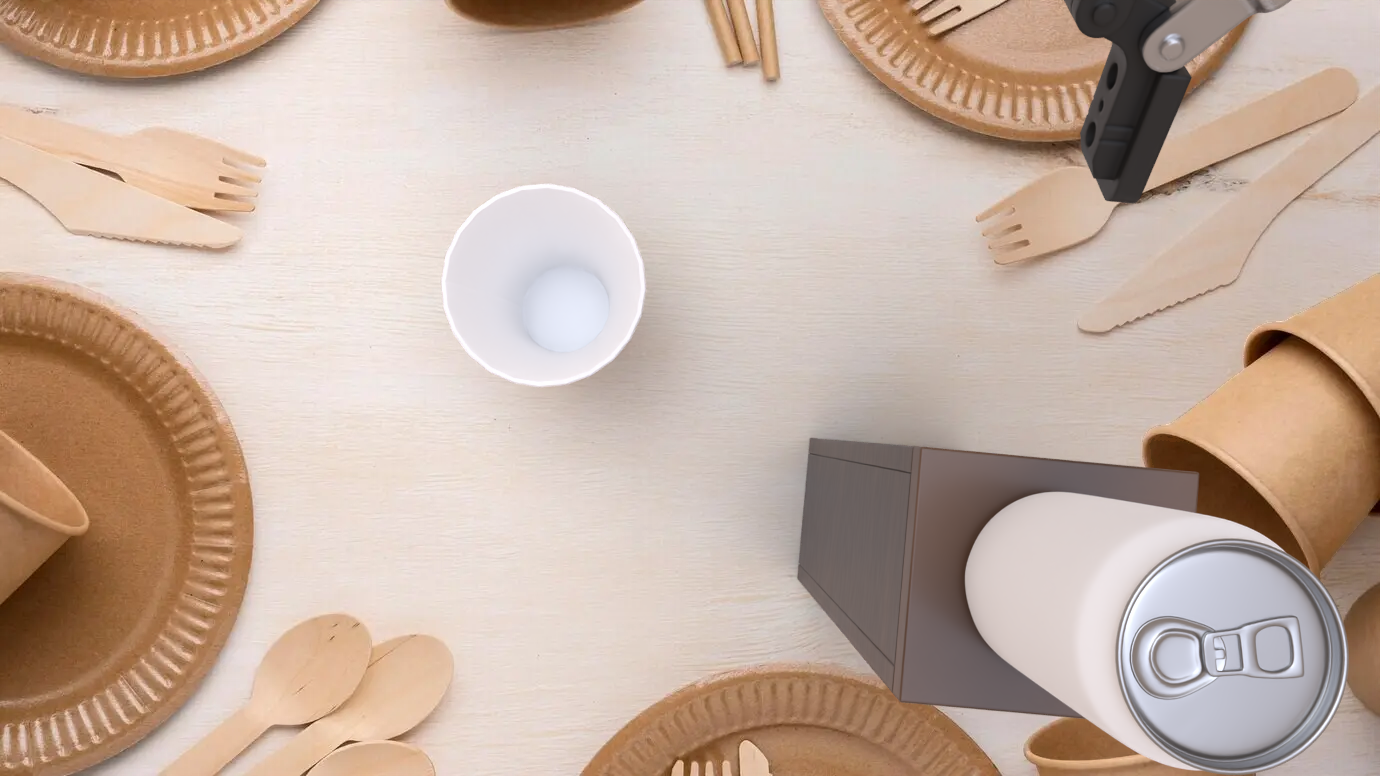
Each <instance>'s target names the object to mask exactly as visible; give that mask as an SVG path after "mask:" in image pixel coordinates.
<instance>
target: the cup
mask: <svg viewBox="0 0 1380 776" xmlns="http://www.w3.org/2000/svg"><path fill="white" fill-rule="evenodd" d="M443 261H444V262H443V266H442V272H441V277H440V288H441V289H440V291H441V299H442V300H441V301H442V309H443V312H444V314H445V317H446V320H447V322H448V325H449V328H450V330H451V333H452V336H454V338H455V339H456V341H457V342H458V343H459V344H460V346H461V347H462V349H463V350H464V352H465V354H466V355H467V356H468V357H470V358H471V359H472V360H473V361H475V362H476V363H477V364H478V365H479V366H481V367H482V368H483V369H484V370H485V371H486V372H488V373H490V374H492V375H494V376H496V377H498V378H500V379H503V380H505V381H506V382H507V381H508V382H510V383H512V384H515V385H520V386H521V385H522V386H527V387H532V388H533V387H534V388H538V389H539V388H549V387H550V388H551V387H561V386H568V385H571V384H573V383H575V382H579V381H581V380H584V379H587V378H589V377H592V376H593V375H595V374H596V373H598V372H599V371H600V370H602V369H603V368H606V366H608V365H609V364H610V363H612V362H614V360H616V358H617V357H618V356H619V355H620V354H621V352H622V351H623V349H625V347H626V346H627V345H628V344H629V342H631V340H632V338H633V336H634V334H635V331H636V329H637V327H638V325H639V323H640V321H641V319H642V316H643V312H644V306H645V301H646V294H647V280H646V279H647V278H646V270H645V261H644V259H643V256H642V254H641V251H640V248H639V246H638V242H637V240H636V237H635V235H634V234H633V233H632V231H631V230H630V229H629V228H628V226H627V225H626V223H625V222H624V220H623V219H622V217H621V216H620V215H619V214H618V213H617V212H616V211H614V210H613V209H612V208H611V207H610V206H608V205H607V204H606V203H605V202H604V201H602V200H601V199H600V198H599V197H596V196H593V195H591V194H589V193H587V192H585V191H583V190H581V189H578V188H576V187H573V186H568V185H562V184H555V183H549V182H546V183H545V182H544V183H533V184H524V185H518V186H516V187H513V188H510V189H508V190H505V191H502V192H499V193H497V194H495V195H493V196H491V197H490V198H489V199H488V200H486V201H485V202H484V203H482V204H480V205H479V206H478V207H476V208H474V209H473V211H472V212H471V213H470V214H469V215H468V216H467V218H466V219H465V220H464V221H463V222H462V224H461V225H460V226H459V227H458V228H457V230H456V231H455V233H454V235H453V238H452V240H451V242H450V243H449V246H448V248H447V251H446V252H445V255H444V260H443Z"/></svg>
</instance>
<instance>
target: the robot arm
mask: <svg viewBox="0 0 1380 776" xmlns="http://www.w3.org/2000/svg"><path fill="white" fill-rule="evenodd" d="M1063 1H1064V4H1065V5H1066V7H1067V9H1068V12H1069V13H1070V15H1071V17H1072V18H1073V20H1074V23H1075V24H1076V26H1077V28H1078V30H1079V31H1080V33H1082V34H1083V35H1084V36H1086V37H1088V38H1092V39H1105V40H1107V41H1109V42H1111V46H1110V50H1109V52H1108V54H1107V58H1106V61H1105V64H1104V66H1103V69H1102V71H1101V75H1100V77H1099V79H1098V83H1097V84H1096V85H1097V86H1096V88H1095V91H1094V93H1093V99H1092V100H1091V102H1090V105H1089V107H1088V110H1087V114H1086V115H1085V118H1084V121H1083V124H1082V127H1081V130H1080V132H1079V136H1080V150H1081V153H1082V156H1083V157H1084V160H1085V162H1086V163H1087V167H1088V170H1089V171H1090V174H1091V176H1092V178H1093V180H1094V179H1095V181H1096V183H1097V185H1098V187H1099V190H1100V192H1101V194H1102V197H1103V199H1104V201H1106V202H1112V203H1124V204H1132V205H1133V204H1136V203H1138V201H1140V199H1141V197H1142V196H1143V193H1144V191H1145V188H1146V187H1147V185H1148V181H1149V179H1150V177H1151V174H1152V172H1153V169H1154V167H1155V165H1156V162H1157V161H1158V158H1159V156H1160V154H1161V151H1162V149H1163V146H1164V144H1165V142H1166V139H1167V137H1168V134H1169V132H1170V130H1171V128H1172V125H1173V123H1174V121H1175V118H1176V116H1177V113H1178V111H1179V108H1180V107H1181V103H1182V101H1183V99H1184V97H1185V95H1186V93H1187V90H1188V88H1189V86H1190V83H1191V81H1192V78H1193V76H1192V75H1191V74H1190V72H1189V70H1188V69H1187V68H1186V66H1187V65H1188V64H1189V63H1190V62H1191V61H1193V60H1194V59H1196V58H1197V57H1198V56H1200V55H1201V54H1202V53H1204V52H1205V51H1206V50H1207V49H1208V48H1210V47H1212V46H1213V45H1214V44H1215V43H1217V42H1218V41H1219V40H1220V39H1222V38H1223V37H1225V36H1226V35H1227V34H1229V33H1230V32H1232V31H1233V30H1234V29H1236V27H1238V26H1239V25H1241V24H1242V23H1243V22H1244V21H1246V20H1247V19H1248V18H1250V17H1252V16H1253V15H1256V14H1260V13H1261V14H1268V13H1272V12H1274V11H1275V12H1276V11H1277V10H1279V9H1281V8H1283V7H1284V6H1286V5H1287V4H1289V3H1290V2H1292V0H1063Z"/></svg>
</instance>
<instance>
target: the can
mask: <svg viewBox="0 0 1380 776" xmlns="http://www.w3.org/2000/svg"><path fill="white" fill-rule="evenodd" d="M965 590H966V597H967V602H968V606H969V609H970V612H971V615H972V618H973V621H974V623H975V625H976V627H977V629H978V631H979V633H980V634H981V636H982V637H983V639H984V640H985V641H986V643H987V644H988V645H989V646H990V647H991V648H992V649H993V650H994V651H995V652H996V653H997V654H998V655H999V656H1000V657H1001V658H1003V659H1004V660H1005V661H1006V662H1008V663H1009V664H1010V665H1012V666H1013V667H1014V668H1016V669H1017V670H1018V671H1020V672H1021V673H1022V674H1024V675H1025V676H1027V677H1028V678H1029V679H1031V680H1032V681H1034V682H1035V683H1036V684H1038V685H1039V686H1041V687H1042V688H1043V689H1045V690H1046V691H1048V692H1049V693H1050V694H1052V695H1053V696H1055V697H1056V698H1057V699H1059V700H1060V701H1062V702H1063V703H1065V704H1066V705H1067V706H1069V707H1070V708H1072V709H1073V710H1074V711H1076V712H1077V713H1079V714H1080V715H1082V716H1083V717H1084V718H1086V719H1085V720H1087V721H1088V722H1090V723H1091V724H1093V725H1094V726H1096V727H1097V728H1099V729H1100V730H1101V731H1103V732H1104V733H1106V734H1107V735H1109V736H1110V737H1111V738H1113V739H1114V740H1116V741H1118V742H1119V743H1121V744H1122V745H1124V746H1125V747H1127V748H1129V749H1130V750H1132V751H1134V752H1135V753H1137V754H1139V755H1140V756H1143V757H1145V758H1146V759H1147V758H1148V759H1149V760H1152V761H1154V762H1156V763H1159V764H1162V765H1165V766H1167V767H1172V768H1176V769H1182V770H1187V771H1202V772H1205V773H1206V772H1207V773H1211V774H1216V775H1226V776H1243V775H1244V776H1245V775H1252V774H1258V773H1263V772H1266V771H1269V770H1272V769H1274V768H1278V767H1279V766H1282V765H1285V764H1286V763H1287V762H1290V761H1291V760H1293V759H1295V758H1297V757H1298V756H1300V755H1301V754H1302V753H1304V752H1305V751H1306V750H1308V748H1310V747H1311V746H1312V745H1313V744H1314V743H1315V742H1316V741H1317V740H1318V739H1319V738H1320V737H1321V735H1323V733H1324V732H1325V731H1326V729H1327V728H1328V727H1329V725H1330V724H1331V722H1332V721H1333V719H1334V717H1335V716H1336V713H1337V712H1338V709H1339V707H1340V704H1341V703H1342V700H1343V697H1344V694H1345V691H1346V686H1347V681H1348V677H1349V667H1350V665H1349V664H1350V657H1349V656H1350V654H1349V653H1350V652H1349V642H1348V635H1347V631H1346V627H1345V623H1344V620H1343V617H1342V615H1341V612H1340V609H1339V607H1338V606H1337V604H1336V602H1335V600H1334V598H1333V596H1332V595H1331V593H1330V592H1329V590H1328V589H1327V587H1326V586H1325V584H1324V583H1323V582H1322V581H1321V580H1320V579H1319V577H1318V576H1317V575H1316V574H1315V573H1314V572H1313V571H1312V570H1311V569H1310V568H1308V567H1307V566H1306V565H1305V564H1304V563H1302V562H1301V561H1300V560H1299V559H1297V558H1295V557H1294V556H1292V555H1291V554H1290V553H1287V552H1286V550H1284V549H1283V548H1282V547H1281V546H1280V545H1278V544H1277V543H1276V542H1274V541H1273V540H1271V539H1270V538H1269V537H1267V536H1265V535H1264V534H1262V533H1260V532H1258V531H1257V530H1255V529H1252V528H1250V527H1248V526H1246V525H1243V524H1241V523H1238V522H1236V521H1232V520H1228V519H1225V518H1223V517H1222V518H1221V517H1217V516H1213V515H1208V514H1203V513H1198V512H1197V513H1192V512H1187V511H1181V510H1175V509H1170V508H1164V507H1158V506H1152V505H1146V504H1140V503H1134V502H1128V501H1122V500H1116V499H1110V498H1104V497H1097V496H1091V495H1084V494H1077V493H1069V492H1045V493H1039V494H1034V495H1030V496H1027V497H1024V498H1022V499H1019V500H1017V501H1015V502H1013V503H1011V504H1010V505H1008V506H1006V507H1005V508H1004V509H1002V510H1001V511H1000V512H998V513H997V514H996V515H995V516H994V517H993V518H992V519H991V520H990V521H989V522H988V523H987V524H986V526H985V527H984V528H983V529H982V531H981V532H980V534H979V536H978V537H977V539H976V541H975V543H974V545H973V547H972V550H971V552H970V555H969V558H968V561H967V565H966V570H965Z"/></svg>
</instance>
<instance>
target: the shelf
mask: <svg viewBox="0 0 1380 776" xmlns="http://www.w3.org/2000/svg"><path fill="white" fill-rule="evenodd" d="M914 446H915V447H914V448H913V459H912V471H911V483H910V495H909V506H908V518H907V530H906V542H905V554H904V565H903V577H902V589H901V601H900V613H899V625H898V636H897V648H896V660H895V672H894V684H893V693H892V695H893V696H894V697H895V698H896V699H897V700H898V702H900V703H903V704H915V705H923V706H925V705H926V706H936V707H946V708H947V707H948V708H959V709H969V710H981V711H990V712H991V711H992V712H993V711H994V712H1003V713H1014V714H1024V715H1025V714H1026V715H1036V716H1048V717H1049V716H1050V717H1061V718H1070V719H1081V720H1087V719H1086V718H1084V717H1083V716H1082V715H1080V714H1079V713H1077V712H1076V711H1074V710H1073V709H1072V708H1070V707H1069V706H1067V705H1066V704H1065V703H1063V702H1062V701H1060V700H1059V699H1057V698H1056V697H1055V696H1053V695H1052V694H1050V693H1049V692H1048V691H1046V690H1045V689H1043V688H1042V687H1041V686H1039V685H1038V684H1036V683H1035V682H1034V681H1032V680H1031V679H1029V678H1028V677H1027V676H1025V675H1024V674H1022V673H1021V672H1020V671H1018V670H1017V669H1016V668H1014V667H1013V666H1012V665H1010V664H1009V663H1008V662H1006V661H1005V660H1004V659H1003V658H1001V657H1000V656H999V655H998V654H997V653H996V652H995V651H994V650H993V649H992V648H991V647H990V646H989V645H988V644H987V643H986V641H985V640H984V639H983V637H982V636H981V634H980V633H979V631H978V629H977V627H976V625H975V623H974V621H973V618H972V615H971V612H970V609H969V606H968V602H967V597H966V590H965V570H966V565H967V561H968V558H969V555H970V552H971V550H972V547H973V545H974V543H975V541H976V539H977V537H978V536H979V534H980V532H981V531H982V529H983V528H984V527H985V526H986V524H987V523H988V522H989V521H990V520H991V519H992V518H993V517H994V516H995V515H996V514H997V513H998V512H1000V511H1001V510H1002V509H1004V508H1005V507H1006V506H1008V505H1010V504H1011V503H1013V502H1015V501H1017V500H1019V499H1022V498H1024V497H1027V496H1030V495H1034V494H1039V493H1045V492H1069V493H1077V494H1084V495H1091V496H1097V497H1104V498H1110V499H1116V500H1122V501H1128V502H1134V503H1140V504H1146V505H1152V506H1158V507H1164V508H1170V509H1175V510H1181V511H1187V512H1192V513H1198V501H1199V487H1200V486H1199V485H1200V473H1199V472H1198V471H1189V470H1177V469H1169V468H1159V467H1158V468H1156V467H1147V466H1145V467H1144V466H1137V465H1125V464H1115V463H1105V462H1104V463H1103V462H1094V461H1083V460H1073V459H1060V458H1050V457H1049V458H1048V457H1040V456H1030V455H1029V456H1028V455H1018V454H1007V453H996V452H985V451H975V450H974V451H973V450H964V449H954V448H944V447H943V448H941V447H933V446H932V447H931V446H921V445H920V446H919V445H914Z"/></svg>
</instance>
